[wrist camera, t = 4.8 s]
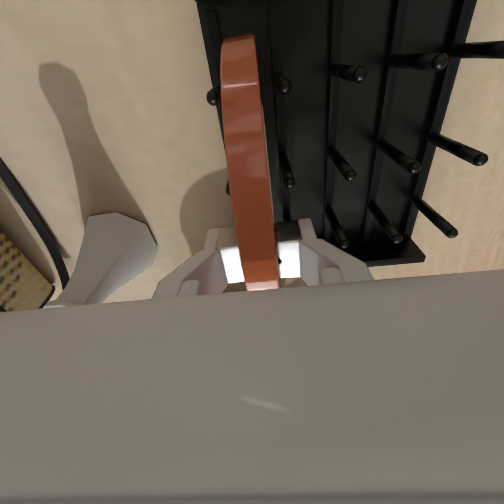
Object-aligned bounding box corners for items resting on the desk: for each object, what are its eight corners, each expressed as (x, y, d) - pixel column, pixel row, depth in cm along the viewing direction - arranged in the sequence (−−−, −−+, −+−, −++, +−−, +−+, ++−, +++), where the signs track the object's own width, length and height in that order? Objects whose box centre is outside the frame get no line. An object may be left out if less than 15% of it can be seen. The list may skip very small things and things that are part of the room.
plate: (235, 44, 16) (185, 20, 5) (256, 40, 16) (254, 8, 5) (261, 233, 24) (264, 383, 13) (274, 231, 24) (290, 382, 13)
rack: (197, -10, 16) (162, -48, 10) (482, -67, 14) (633, -149, 8) (246, 252, 28) (243, 303, 22) (403, 237, 26) (444, 287, 20)
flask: (156, 216, 25) (108, 291, 17) (160, 271, 29) (123, 352, 21) (78, 205, 24) (-9, 277, 16) (93, 263, 29) (31, 342, 21)
